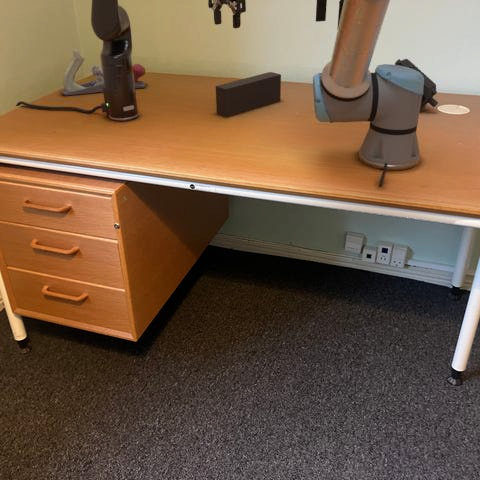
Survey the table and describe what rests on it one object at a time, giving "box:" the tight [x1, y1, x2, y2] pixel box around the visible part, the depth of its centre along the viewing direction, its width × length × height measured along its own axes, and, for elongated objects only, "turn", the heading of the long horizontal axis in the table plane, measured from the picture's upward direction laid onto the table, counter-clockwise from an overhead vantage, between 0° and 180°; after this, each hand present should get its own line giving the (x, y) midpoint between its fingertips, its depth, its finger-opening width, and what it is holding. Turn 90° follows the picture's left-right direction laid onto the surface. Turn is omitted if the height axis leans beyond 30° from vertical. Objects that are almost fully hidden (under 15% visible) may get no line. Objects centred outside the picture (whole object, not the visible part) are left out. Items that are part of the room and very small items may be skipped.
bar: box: [215, 71, 282, 118], centre depth 175 cm, size 24×5×9 cm, turn 131°
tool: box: [394, 58, 439, 110], centre depth 172 cm, size 6×19×15 cm, turn 51°
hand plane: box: [61, 48, 146, 96], centre depth 194 cm, size 7×31×15 cm, turn 107°
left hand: (227, 26), depth 158 cm, fingers open, 8 cm apart
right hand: (331, 25), depth 144 cm, fingers open, 13 cm apart
